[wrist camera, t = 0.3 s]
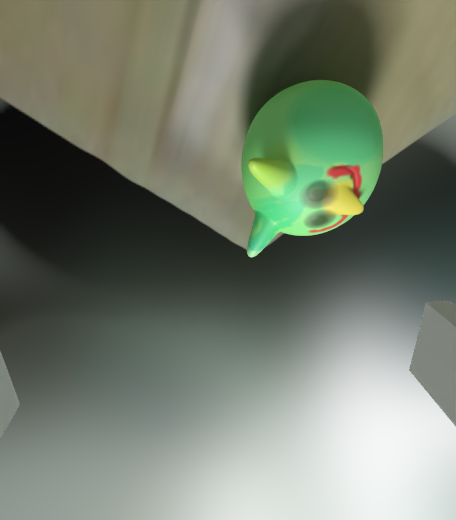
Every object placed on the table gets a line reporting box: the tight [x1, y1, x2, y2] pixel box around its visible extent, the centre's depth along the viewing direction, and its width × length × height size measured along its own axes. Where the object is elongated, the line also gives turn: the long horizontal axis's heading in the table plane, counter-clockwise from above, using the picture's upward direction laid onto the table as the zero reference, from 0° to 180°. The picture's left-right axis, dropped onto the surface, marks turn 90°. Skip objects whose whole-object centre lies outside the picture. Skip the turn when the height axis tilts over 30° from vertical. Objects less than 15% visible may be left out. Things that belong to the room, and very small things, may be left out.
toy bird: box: [242, 80, 383, 257], centre depth 39 cm, size 18×17×15 cm
